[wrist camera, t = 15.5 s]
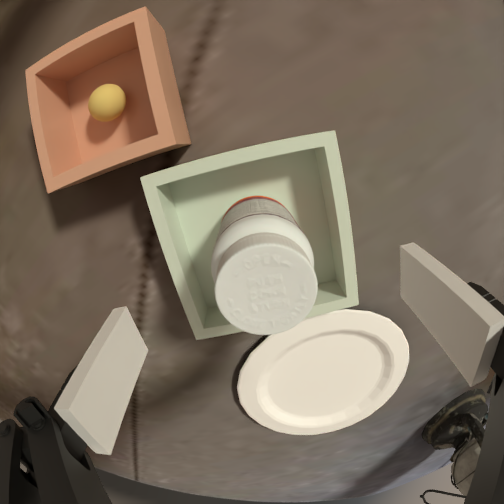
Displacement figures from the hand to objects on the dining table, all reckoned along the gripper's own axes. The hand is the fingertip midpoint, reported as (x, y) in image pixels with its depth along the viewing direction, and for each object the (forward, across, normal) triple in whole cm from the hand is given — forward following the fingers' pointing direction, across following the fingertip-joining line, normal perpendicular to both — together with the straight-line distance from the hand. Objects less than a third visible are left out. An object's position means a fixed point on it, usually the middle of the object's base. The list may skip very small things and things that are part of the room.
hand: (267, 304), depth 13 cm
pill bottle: (+13, 0, 0) cm, 13 cm away
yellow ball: (+13, -9, +13) cm, 21 cm away
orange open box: (+14, -9, +13) cm, 21 cm away
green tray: (+13, 0, -1) cm, 13 cm away
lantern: (+13, +26, -44) cm, 52 cm away
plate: (+13, +4, -20) cm, 24 cm away
